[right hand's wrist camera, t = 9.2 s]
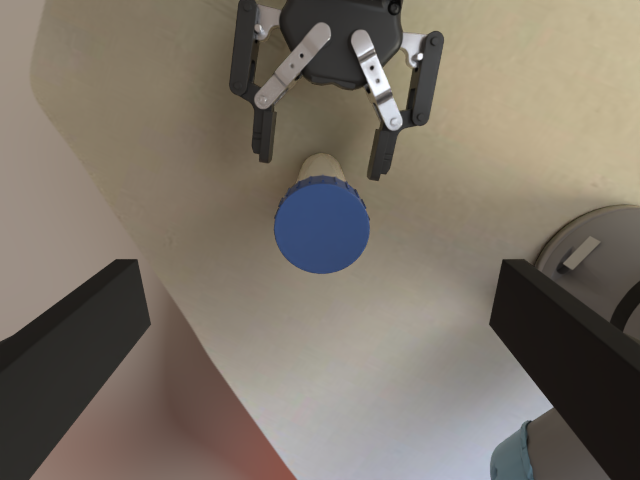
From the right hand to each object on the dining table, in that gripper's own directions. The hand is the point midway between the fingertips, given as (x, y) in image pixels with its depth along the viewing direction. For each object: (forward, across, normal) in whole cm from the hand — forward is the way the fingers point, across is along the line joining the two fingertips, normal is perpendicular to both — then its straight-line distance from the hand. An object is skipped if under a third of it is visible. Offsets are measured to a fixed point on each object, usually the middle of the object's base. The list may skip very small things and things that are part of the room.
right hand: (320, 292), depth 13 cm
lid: (+6, 0, 0) cm, 6 cm away
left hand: (+16, 0, +2) cm, 16 cm away
